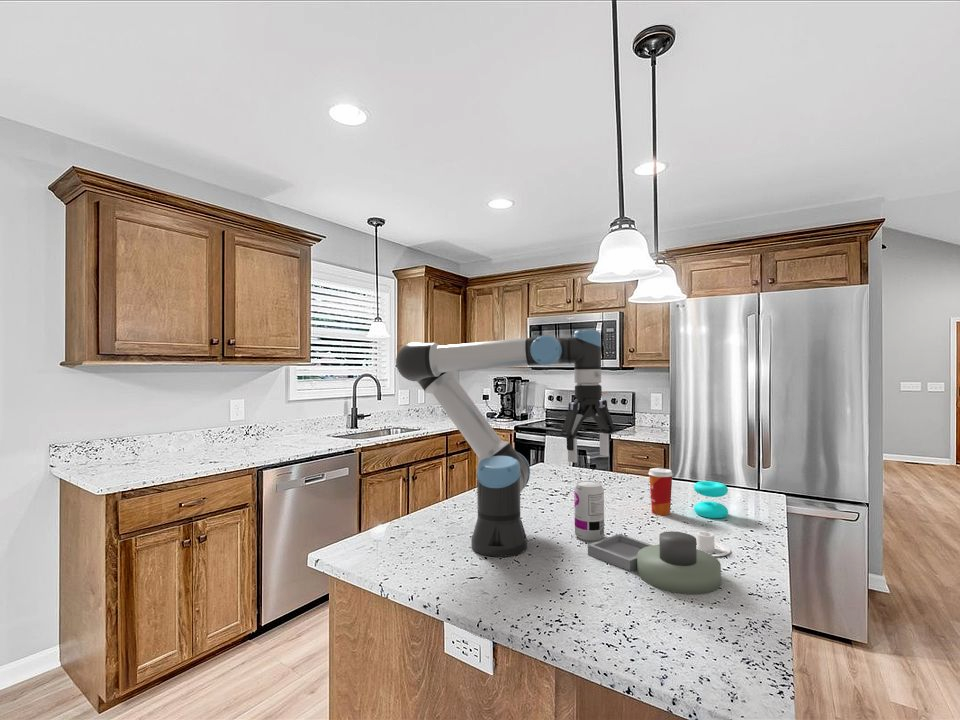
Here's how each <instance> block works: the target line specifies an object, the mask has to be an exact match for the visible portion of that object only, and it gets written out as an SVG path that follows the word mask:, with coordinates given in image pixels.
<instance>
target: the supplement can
mask: <svg viewBox="0 0 960 720" xmlns="http://www.w3.org/2000/svg"><path fill="white" fill-rule="evenodd" d="M602 485H603V484H602V483H600V482H597V481H593V480H582V481H577V482H576V485H575V487H574V489H573V490H574V491H573V493H574V494H573V495H574V496H573V497H574V534H575V536H576V537H577V538H578V539H579V540H583V541H587V542H588V541H592V542H593V541H595V540H596V541H600V540H602V539H601V538H604V536H605V491H604V490H605V489H604V487H603V486H602ZM596 541H595V542H596Z"/></svg>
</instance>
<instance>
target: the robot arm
mask: <svg viewBox="0 0 960 720" xmlns="http://www.w3.org/2000/svg"><path fill="white" fill-rule="evenodd" d="M561 364H569V365H570V364H574V375H573V376H574V383H575V386H574V397H575V398H576V402H573V401H572V402H571V401H570V402H568V408H567V409H568V411H567V414H566V416H565V419H564V422H563V425H562V429H561V432H560V436H561V437H563V438H566V449H567V461H568V462H569V463H570V462H571V463H575V464H576V463H578V438H576V436H577V434H578V432H579V431H580V430H579V429H580V428H581V426H582V424H583V423H584V420H586V419H587V418H591V417H592V418H593V420H594V421H595V423H596V425H597V426H598V428H599V429H600V431H601V432H599V455H600V456H603V457H609V456H610V434H613V432H614V431H615V429H616V428H615V425H614V423H613V419H612V416H611V414H610V410H609V408H608V401H607V399H601V398H602V393H603V392H602V391H603V390H602V389H603V387H602V385H601V383H602V338H601V332H600V331H598V330H596V329H581V330H575V331H574V333H573V336H571V337H554V336H552V335H550V334H549V335H547V334H544V335H540V336H535V337H534V336H533V337H524V338H523V337H521V338H511V339H501V340H487V341H479V342H468V343H467V342H466V343H456V344H447V345H439V344H438V343H437V342H421V341H412V342H409V343H407V344H404V345H403V346H402V347H401V348H400V349H399V350H398V352H397V354H396V358H395V365H396V369H397V372H398V373H399V374H400V376H402V377H403V378H404V379H405V380H408V381H410V382H417V383H418V384H419V386H420V387H421V388H422V390H423V392H425V393H428V394H431V395H433V397H434V398H435V399H436V401H437V402H438V403H439V405H440V406H441V408H442V409H443V410H444V411H445V413H446V414H447V416H448V417H449V418H450V420H451V421H452V422H453V424H454V426H455V427H456V429H457V430H458V431H459V432H460V433H461V435H462V437H463V438H464V439H465V441H466V442H467V443H468V445H469V447H470V448H471V449H472V450H473V452H474V454H476V456H477V457H478V461H477V462H478V463H477V471H476V483H477V487H476V488H477V489H476V491H477V492H476V493H477V520H476V523H475V526H474V530H473V534H472V535H471V539H470V540H471V549H472V550H473V551H474V552H476V553H477V554H481V555H484V556H489V557H494V558H495V557H501V558H502V557H511V556H516V555H519V554H521V553H523V552H525V551H526V550H527V548H528V537H527V534H526V530H525V528H524V525H523V522H522V519H521V493H522V492H523V490H524V489H525V488H526V486H527V485H528V483H529V481H530V477H531V476H530V475H531V467H530V464H529V461H528V459H526V457H525V456H524V455H523V454H521V453H520V452H518V451H517V450H516V449H515V448H514V447H513V445H512V444H511V443H510V442H509V441H505V440H502V439H501V438H500V436H499V435H498V433H497V432H496V431H495V429H494V428H493V427H492V426H491V424H490V423H489V422H488V420H487V418H486V417H485V416H484V415H483V413H482V412H481V411H480V409H479V407H478V406H477V405H476V403H474V401H473V400H472V398H471V397H470V395H468V393H467V391H466V390H465V389H464V387H463V386H462V384H461V383H460V382H459V381H458V379H457V378H456V372H464V371H465V372H466V371H479V370H489V369H490V370H492V369H502V368H513V367H514V368H518V367H527V366H528V367H529V366H531V367H532V366H542V365H543V366H549V365H561Z"/></svg>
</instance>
